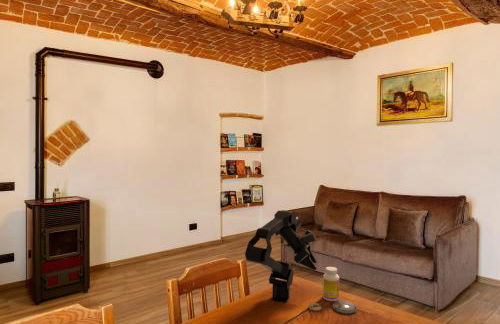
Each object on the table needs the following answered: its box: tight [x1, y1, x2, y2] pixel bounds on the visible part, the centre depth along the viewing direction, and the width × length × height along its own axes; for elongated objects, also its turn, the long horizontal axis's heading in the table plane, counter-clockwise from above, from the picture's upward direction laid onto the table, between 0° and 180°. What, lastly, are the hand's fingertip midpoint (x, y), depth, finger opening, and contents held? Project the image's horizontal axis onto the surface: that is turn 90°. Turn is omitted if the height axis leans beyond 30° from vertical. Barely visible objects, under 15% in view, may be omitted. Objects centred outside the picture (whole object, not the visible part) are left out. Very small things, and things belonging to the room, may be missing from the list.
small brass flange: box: [308, 302, 323, 312], centre depth 139 cm, size 5×5×1 cm
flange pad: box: [332, 300, 357, 315], centre depth 139 cm, size 9×9×1 cm
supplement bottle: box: [322, 266, 340, 302], centre depth 148 cm, size 7×7×13 cm
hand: (315, 266), depth 148 cm, fingers open, 9 cm apart
